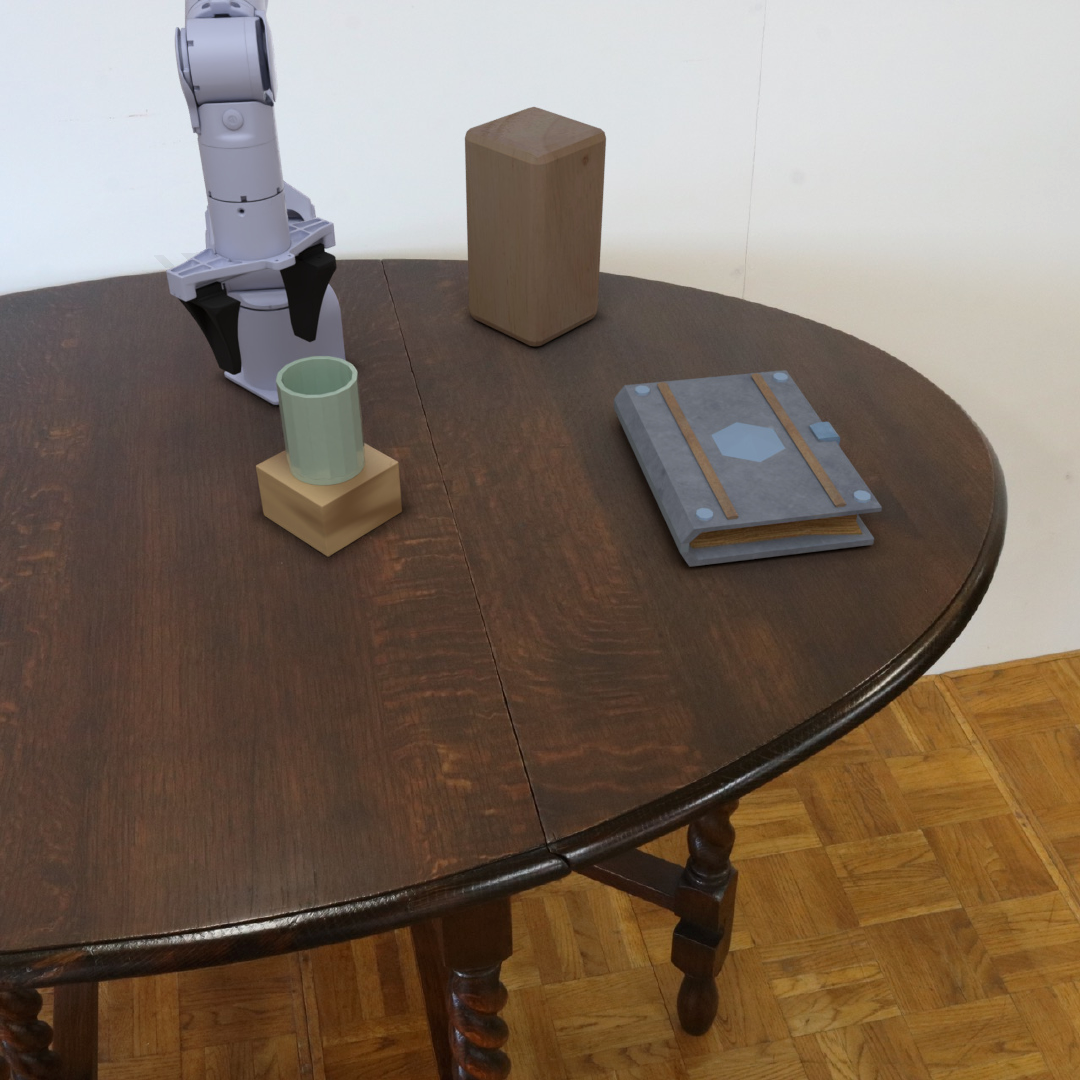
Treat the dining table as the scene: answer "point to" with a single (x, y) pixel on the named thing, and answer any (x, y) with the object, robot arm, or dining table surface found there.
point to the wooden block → (534, 223)
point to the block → (331, 501)
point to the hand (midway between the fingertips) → (268, 353)
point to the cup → (321, 419)
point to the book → (744, 467)
